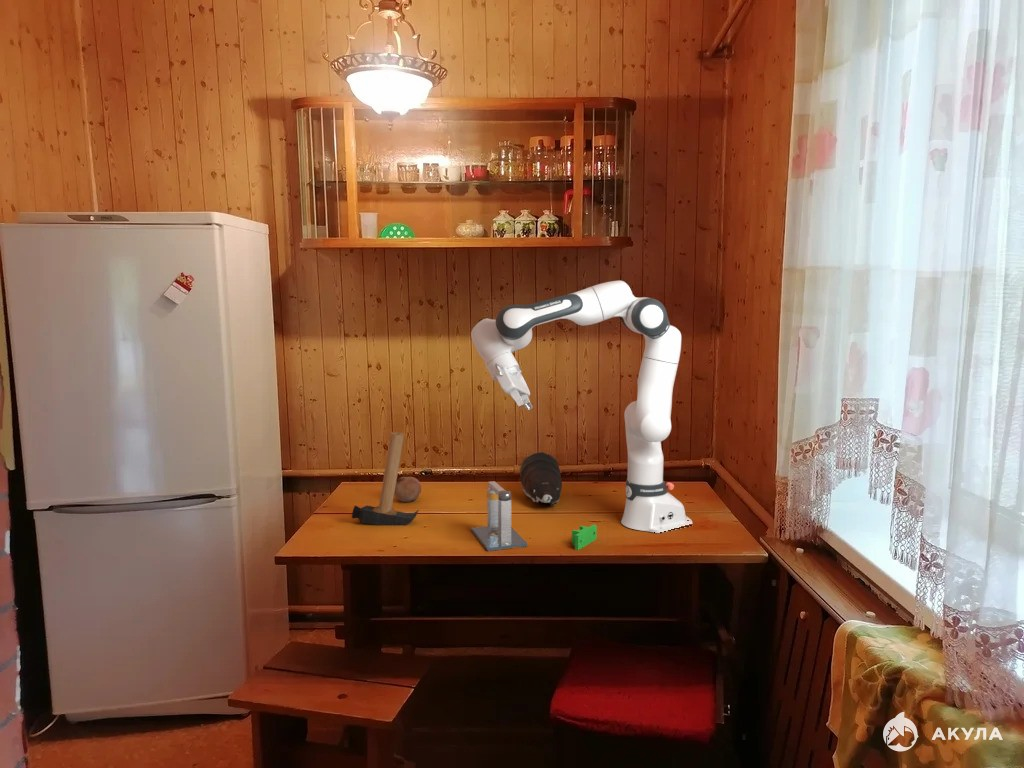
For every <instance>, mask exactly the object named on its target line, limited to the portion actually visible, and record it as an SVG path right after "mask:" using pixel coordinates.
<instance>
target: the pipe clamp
mask: <svg viewBox="0 0 1024 768" xmlns="http://www.w3.org/2000/svg"><path fill="white" fill-rule="evenodd" d="M597 526H598V525H596V524H592V525H590V526H584V525H580V526H579V529H572V532H571V545H573V546H574V550H575V551H580V550H581V549H583V548H585V547H586V546H588V545H589V544H591V543H592V542H594V541H596V540H597V536H598V535H597V529H598V527H597ZM582 547H583V548H582ZM579 549H580V550H579Z"/></svg>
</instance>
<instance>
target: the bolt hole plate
mask: <svg viewBox="0 0 1024 768" xmlns="http://www.w3.org/2000/svg"><path fill="white" fill-rule="evenodd" d="M470 531H471V533H474V534H473V535H474V536H475V537H476V539H477V538H478V539H479V540H478V539H477V540H478V541H479V542H480V544H481V543H482V544H483V545H482V544H481V545H482V546H483V548H484V549H486V551H487V552H494V551H495V550H496V551H502V550H501V549H504V550H508V549H507V548H512V549H514V548H513V547H520V548H526V547H525V546H528V545H529V544H528V542H527V541H526V540H525V539H524V538H523V537H522V536H521V535H520V534H519V533H518V532H517V530H515V529H514V528H513V527H512V526H511V543H507V544H501V543H500V542H499V541H498V527H496V529H495V530H492V528H490V527H489V526H488V525H487V526H486V525H485V526H477V527H470ZM523 546H524V547H523Z"/></svg>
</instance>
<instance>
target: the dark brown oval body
mask: <svg viewBox="0 0 1024 768" xmlns="http://www.w3.org/2000/svg"><path fill="white" fill-rule="evenodd" d="M519 479H520V483H521V487H522V491H523V492H524V493H523V494H525V495H526V496H527V497H528V498H530V499H531V500H532V502H533V503H539V502H541V503H544V504H545V503H546V504H549V505H550V506H551V507H553V506H555V505H556V504H557V503H558V502H559V501H560V498H561V492H562V488H563V487H562V486H563V481H562V475H561V471H560V465H559V462H558V460H557V458H556V457H554V456H553V455H552V454H549V453H545V452H541V451H538V452H534V453H532V454H530V455H528V456H526V457H525V458H524V459H523V461H522V462H521V465H520V468H519Z"/></svg>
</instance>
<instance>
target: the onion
mask: <svg viewBox="0 0 1024 768" xmlns="http://www.w3.org/2000/svg"><path fill="white" fill-rule="evenodd" d="M421 493H422V484H421V482H420V481H419V479H418V478H416V477H414V476H402V477H399V478H397V480H396V486H395V492H394V497H396V499H397V500H399V501H400V502H401V503H408V502H409V503H410V502H414V501H416V500H417V499H418V498H419V497H420V495H421Z"/></svg>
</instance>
